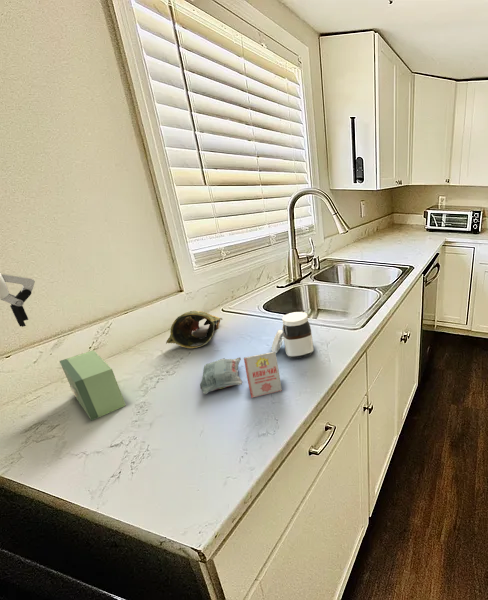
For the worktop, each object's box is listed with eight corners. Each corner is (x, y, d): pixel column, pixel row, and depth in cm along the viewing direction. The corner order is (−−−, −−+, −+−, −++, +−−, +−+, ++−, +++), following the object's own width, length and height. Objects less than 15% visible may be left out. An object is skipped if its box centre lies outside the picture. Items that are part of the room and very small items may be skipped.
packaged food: (242, 366, 89) (238, 350, 87) (243, 390, 79) (239, 373, 77) (206, 374, 85) (201, 358, 84) (202, 401, 75) (197, 383, 74)
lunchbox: (89, 422, 69) (71, 383, 65) (73, 398, 77) (56, 361, 73) (126, 406, 74) (111, 368, 70) (107, 385, 82) (93, 350, 78)
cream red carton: (251, 390, 79) (244, 354, 75) (280, 383, 81) (274, 348, 78) (251, 399, 76) (243, 361, 72) (282, 391, 78) (275, 355, 75)
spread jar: (316, 357, 93) (312, 320, 88) (275, 367, 88) (268, 329, 84) (308, 340, 103) (304, 305, 99) (270, 348, 98) (264, 312, 94)
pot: (227, 298, 113) (210, 300, 95) (242, 327, 114) (228, 334, 97) (176, 320, 109) (149, 326, 92) (193, 349, 111) (169, 361, 93)
